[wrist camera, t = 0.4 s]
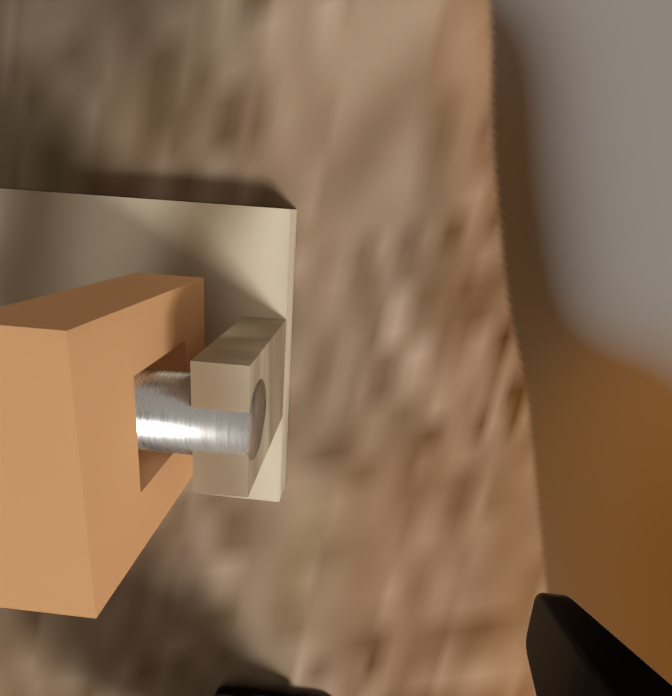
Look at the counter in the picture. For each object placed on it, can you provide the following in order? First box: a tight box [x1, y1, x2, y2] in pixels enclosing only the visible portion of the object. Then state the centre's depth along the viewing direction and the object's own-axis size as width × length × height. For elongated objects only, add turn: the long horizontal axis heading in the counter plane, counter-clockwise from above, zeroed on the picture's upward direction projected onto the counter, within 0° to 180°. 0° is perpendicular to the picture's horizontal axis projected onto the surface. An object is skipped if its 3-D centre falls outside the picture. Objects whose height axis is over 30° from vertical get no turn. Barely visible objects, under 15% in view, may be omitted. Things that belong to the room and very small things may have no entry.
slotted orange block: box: [0, 272, 205, 618], centre depth 13 cm, size 2×7×8 cm, turn 176°
